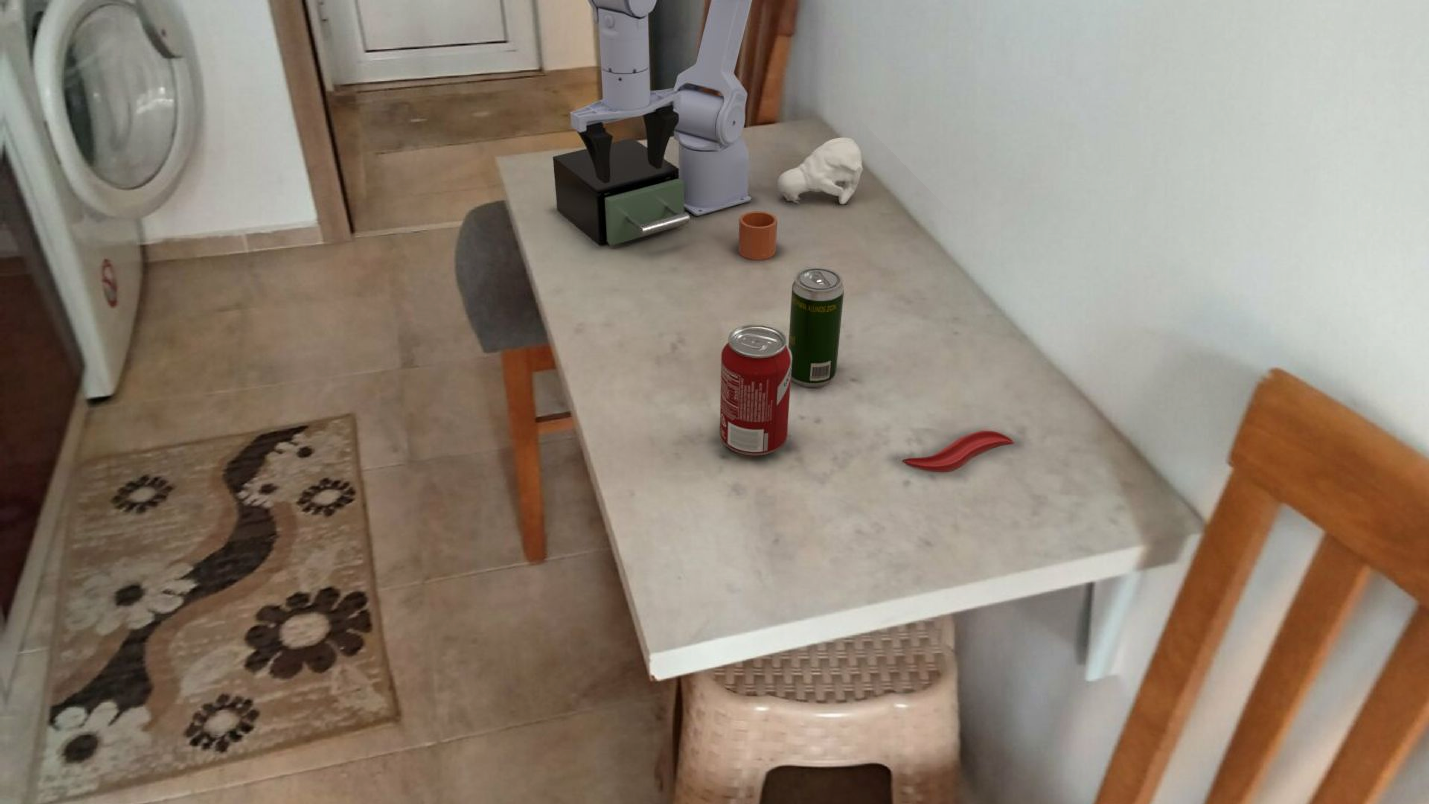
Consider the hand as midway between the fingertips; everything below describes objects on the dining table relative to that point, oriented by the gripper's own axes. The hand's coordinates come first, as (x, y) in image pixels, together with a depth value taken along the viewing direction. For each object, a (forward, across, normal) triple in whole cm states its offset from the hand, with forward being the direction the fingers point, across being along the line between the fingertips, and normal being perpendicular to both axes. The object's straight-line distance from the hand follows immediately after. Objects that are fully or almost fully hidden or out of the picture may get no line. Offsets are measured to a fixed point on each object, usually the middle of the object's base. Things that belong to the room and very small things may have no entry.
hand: (629, 172), depth 135 cm
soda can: (+10, +12, +42) cm, 45 cm away
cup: (+10, -13, +10) cm, 19 cm away
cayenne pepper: (+10, -4, +56) cm, 57 cm away
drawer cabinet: (+10, -3, -8) cm, 14 cm away
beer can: (+10, 0, +37) cm, 38 cm away
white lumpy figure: (+11, -30, +2) cm, 31 cm away
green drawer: (+9, -3, -3) cm, 10 cm away
